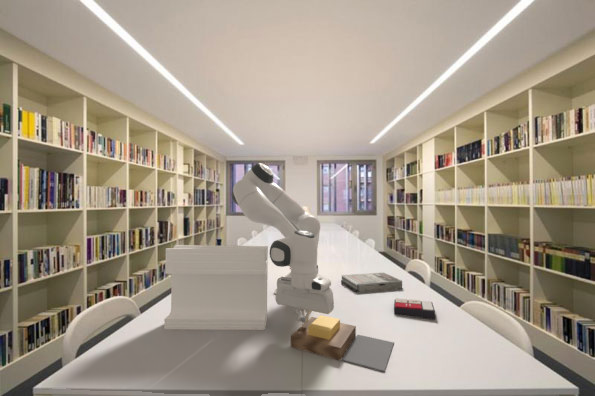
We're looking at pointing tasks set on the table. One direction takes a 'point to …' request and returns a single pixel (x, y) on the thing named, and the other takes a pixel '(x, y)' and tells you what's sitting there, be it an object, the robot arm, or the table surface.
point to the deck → (324, 340)
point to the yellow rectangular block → (324, 327)
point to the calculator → (414, 308)
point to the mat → (369, 352)
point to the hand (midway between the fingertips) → (303, 321)
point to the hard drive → (371, 282)
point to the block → (217, 287)
